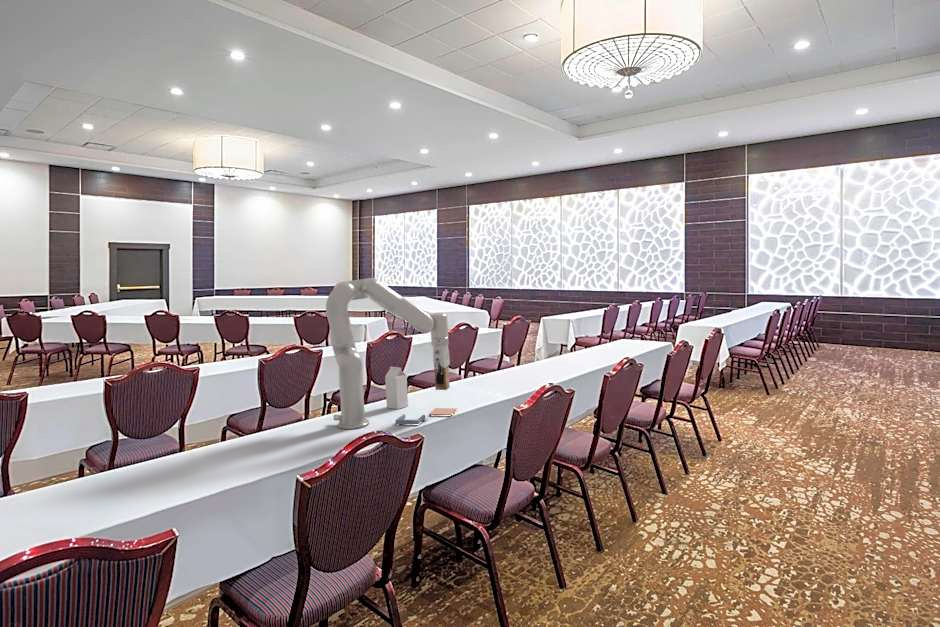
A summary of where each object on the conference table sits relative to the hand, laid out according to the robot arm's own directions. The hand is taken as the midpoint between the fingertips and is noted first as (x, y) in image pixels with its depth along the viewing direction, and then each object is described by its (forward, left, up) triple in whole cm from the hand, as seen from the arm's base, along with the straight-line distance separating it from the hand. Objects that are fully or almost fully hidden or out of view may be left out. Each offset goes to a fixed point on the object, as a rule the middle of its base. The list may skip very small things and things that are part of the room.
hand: (442, 382), depth 237 cm
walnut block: (0, 0, -3) cm, 3 cm away
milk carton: (-25, +9, -14) cm, 30 cm away
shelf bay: (-10, -14, -14) cm, 22 cm away
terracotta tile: (0, 0, -14) cm, 14 cm away
